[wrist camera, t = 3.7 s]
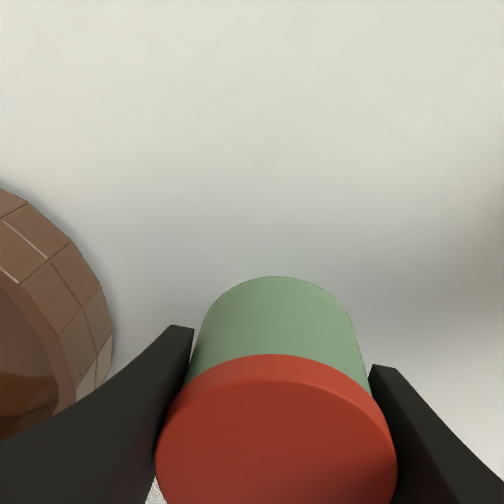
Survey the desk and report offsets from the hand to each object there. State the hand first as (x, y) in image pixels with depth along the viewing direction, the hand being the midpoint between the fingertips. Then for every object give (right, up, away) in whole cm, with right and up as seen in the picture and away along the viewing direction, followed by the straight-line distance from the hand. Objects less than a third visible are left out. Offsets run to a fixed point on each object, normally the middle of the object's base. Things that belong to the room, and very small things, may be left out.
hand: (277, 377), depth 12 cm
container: (0, +1, +1) cm, 1 cm away
